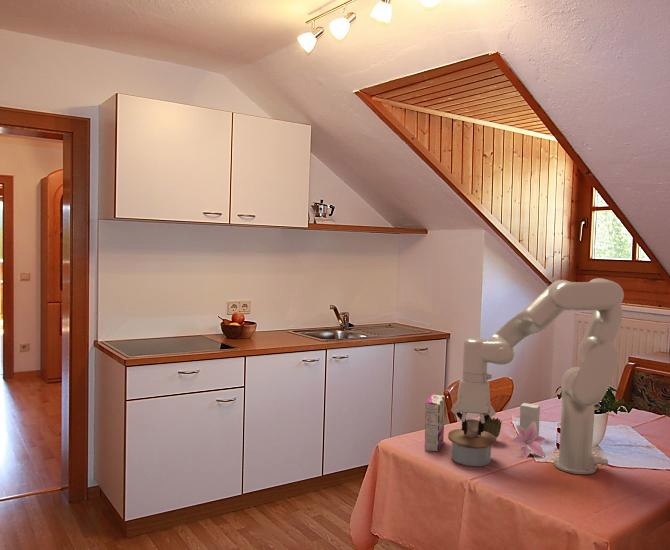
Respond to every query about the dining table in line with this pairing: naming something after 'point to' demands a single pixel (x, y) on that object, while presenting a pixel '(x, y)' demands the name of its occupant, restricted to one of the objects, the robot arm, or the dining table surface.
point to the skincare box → (529, 415)
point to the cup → (492, 426)
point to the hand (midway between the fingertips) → (472, 432)
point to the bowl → (471, 455)
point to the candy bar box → (434, 422)
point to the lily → (529, 440)
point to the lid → (472, 436)
